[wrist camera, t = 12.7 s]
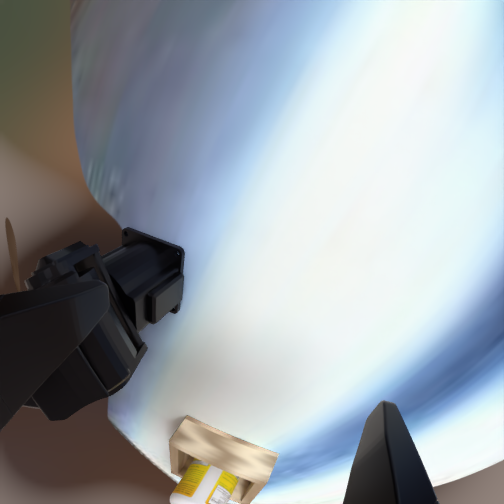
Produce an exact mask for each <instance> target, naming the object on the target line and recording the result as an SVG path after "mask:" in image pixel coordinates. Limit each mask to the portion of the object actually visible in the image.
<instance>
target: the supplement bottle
mask: <svg viewBox="0 0 504 504" xmlns="http://www.w3.org/2000/svg"><path fill="white" fill-rule="evenodd" d="M239 479H240V477H238V476H236V475H233V474H231V473H228V472H226V471H224V470H221V469H219V468H217V467H214V466H212V465H210V464H208V463H205V462H203V461H201V460H199V459H197V458H194V460H193V462H192V463H191V465H190V466H189V468H188V470H187V471H186V473H185V474H184V476H183V477H182V479H181V481H180V482H179V484H178V485H177V487H176V488H175V490H174V491H173V493H172V495H171V496H170V503H171V504H227V502H228V501H229V499H230V497H231V495H232V493H233V491H234V489H235V487H236V485H237V483H238V481H239Z"/></svg>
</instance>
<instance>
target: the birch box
mask: <svg viewBox="0 0 504 504" xmlns="http://www.w3.org/2000/svg"><path fill="white" fill-rule="evenodd" d="M169 447H170V462H171V473H173V474H175V475H177V476H179V477H181V478H182V477H183V476H184V474H185V473H186V471H187V470H188V468H189V466H190V465H191V463H192V462H193V460H194V458H197V459H199V460H201V461H203V462H205V463H208V464H210V465H212V466H214V467H217V468H219V469H221V470H224V471H226V472H228V473H231V474H233V475H236V476H238V477H240V479H239V481H238V483H237V485H236V487H235V489H234V491H233V493H232V495H231V497H230V500H232V501H235V502H238V503H240V504H250V502H251V501H252V500H253V499H254V498H255V497H256V496H257V494H258V493H259V492H260V491H261V490H262V488H263V487H264V486H265V485H266V484H267V482H268V479H269V477H270V475H271V472H272V470H273V467H274V465H275V463H276V460H277V458H278V455H279V454H278V453H275V452H272V451H269V450H267V449H264V448H261V447H259V446H256V445H253V444H251V443H248V442H246V441H243V440H241V439H238V438H236V437H233V436H231V435H229V434H226V433H224V432H222V431H219V430H217V429H215V428H213V427H211V426H208V425H206V424H204V423H202V422H200V421H198V420H196V419H194V418H192V417H190V416H188V415H187V416H186V418H185V419H184V421H183V422H182V423H181V425H180V426H179V428H178V429H177V430H176V432H175V433H174V434H173V436H172V437H171V439H170V440H169Z"/></svg>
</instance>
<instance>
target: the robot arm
mask: <svg viewBox="0 0 504 504" xmlns="http://www.w3.org/2000/svg"><path fill="white" fill-rule="evenodd" d="M127 233H128V234H127ZM177 251H178V252H179V255H178V254H177ZM184 255H185V253H184V250H183V248H181V247H180V246H177V245H174V244H172V243H169V242H166V241H164V240H161V239H158V238H156V237H153V236H150V235H148V234H145V233H143V232H140V231H137V230H135V229H132V228H129V227H127V228H125V229H123V230H122V246H120V247H118V248H116V249H114V250H112V251H110V252H108V253H107V254H105V255H103V256H101V255H100V253H99V248H98V245H97V244H95V245H93V246H91V247H89V246H88V245H85V244H83V243H82V242H81V241H79V242H77V243H75V244H73V245H70V246H68V247H66V248H64V249H62V250H59V251H57V252H54V253H52V254H50V255H47V256H45V257H43V258H41V259H39V261H38V264H37V267H36V271H34V272H33V273H31V274H32V277H30V278H28V279H27V280H25V281H24V282H25V284H26V286H27V289H28V291H22V292H16V293H10V294H5V295H4V294H3V295H0V432H1V430H2V429H3V428H4V427H5V426H6V424H7V423H8V422H9V421H10V420H11V419H12V417H13V415H15V414H16V413H17V411H18V410H19V409H20V408H21V407H22V406H24V407H30V408H37V409H41V410H42V412H43V413H44V414H45V416H46V417H47V418H48V419H49V420H51V421H55V420H65V419H67V418H68V417H70V416H71V415H72V414H74V413H75V412H77V411H78V410H80V409H81V408H83V407H84V406H86V405H88V404H90V403H92V402H94V401H97V400H100V399H102V398H106V397H108V396H111V395H113V394H114V393H116V392H118V391H119V390H120V389H122V388H123V387H124V386H125V385H126V384H127V382H128V381H129V380H130V378H131V376H132V374H133V373H134V371H135V369H136V368H137V366H138V364H139V363H140V361H141V359H142V357H143V356H144V354H145V352H146V351H147V349H148V348H147V346H146V344H145V342H143V341H142V339H141V337H140V336H139V334H138V333H139V332H140V331H141V330H142V329H144V328H145V327H146V326H147V325H148V324H149V323H151V324H155V323H157V322H158V321H159V320H160V319H161V318H163V317H164V316H165V315H166V314H167V313H168V312H171V313H174V314H176V313H177V312H178V311H179V310H180V301H181V300H182V293H183V281H184V275H183V265H184ZM343 504H439V502H438V501H437V497H436V494H435V492H434V489H433V487H432V484H431V482H430V479H429V477H428V475H427V472H426V470H425V467H424V465H423V463H422V460H421V458H420V456H419V454H418V451H417V449H416V447H415V444H414V442H413V440H412V438H411V436H410V433H409V431H408V429H407V427H406V425H405V423H404V420H403V418H402V416H401V414H400V412H399V410H398V408H397V406H396V404H395V403H392V402H388V401H385V400H383V401H381V402H380V403H379V404H378V405H377V407H376V408H375V409H374V410H373V411H372V413H371V414H370V415H369V416H368V418H367V420H366V422H365V426H364V429H363V433H362V436H361V439H360V443H359V446H358V449H357V452H356V455H355V458H354V461H353V465H352V468H351V472H350V477H349V481H348V485H347V489H346V494H345V497H344V501H343Z"/></svg>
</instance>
